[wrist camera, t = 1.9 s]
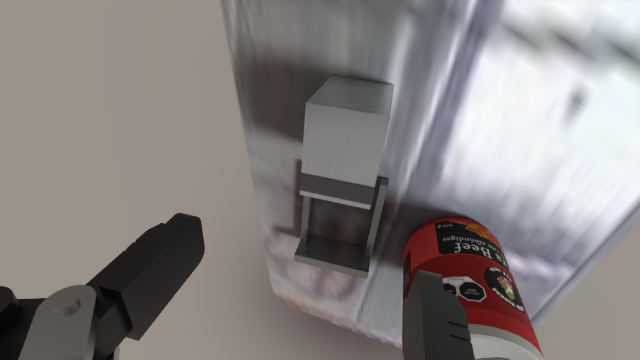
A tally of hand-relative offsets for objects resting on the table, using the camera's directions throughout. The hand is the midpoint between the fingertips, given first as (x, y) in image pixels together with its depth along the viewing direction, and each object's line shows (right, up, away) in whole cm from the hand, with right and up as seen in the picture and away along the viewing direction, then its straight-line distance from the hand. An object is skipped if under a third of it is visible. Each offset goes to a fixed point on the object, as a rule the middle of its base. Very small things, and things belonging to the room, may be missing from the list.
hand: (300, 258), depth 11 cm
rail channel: (+3, 0, +17) cm, 17 cm away
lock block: (+3, +7, +12) cm, 15 cm away
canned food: (+12, -3, +16) cm, 21 cm away
